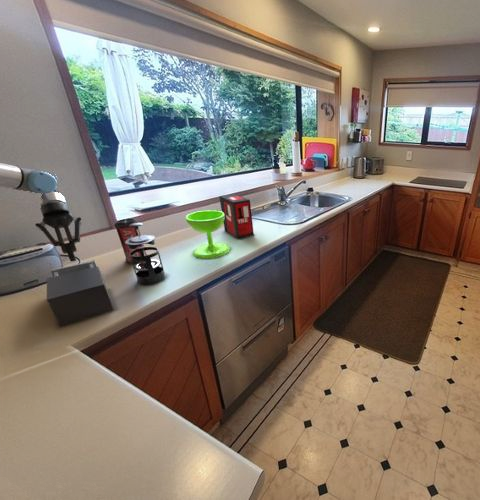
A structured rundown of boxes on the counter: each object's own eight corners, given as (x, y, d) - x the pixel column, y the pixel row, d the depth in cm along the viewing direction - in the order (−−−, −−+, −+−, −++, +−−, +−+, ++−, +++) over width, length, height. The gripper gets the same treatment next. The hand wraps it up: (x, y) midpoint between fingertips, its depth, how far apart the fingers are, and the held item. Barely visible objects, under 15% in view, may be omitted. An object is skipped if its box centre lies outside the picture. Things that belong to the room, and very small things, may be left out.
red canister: (147, 254, 129) (136, 217, 122) (147, 260, 124) (136, 222, 116) (127, 257, 125) (114, 219, 118) (126, 264, 120) (112, 225, 112)
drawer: (59, 287, 101) (50, 268, 98) (100, 277, 108) (93, 258, 105) (60, 307, 91) (50, 286, 88) (106, 294, 98) (98, 274, 95)
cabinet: (58, 303, 94) (46, 278, 90) (107, 289, 103) (98, 266, 98) (60, 326, 84) (46, 299, 80) (113, 309, 92) (104, 284, 88)
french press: (169, 280, 110) (154, 225, 100) (140, 288, 104) (122, 230, 94) (161, 269, 117) (147, 217, 108) (134, 276, 111) (116, 221, 102)
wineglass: (236, 246, 141) (231, 211, 134) (217, 260, 127) (210, 222, 119) (207, 242, 143) (201, 209, 136) (185, 256, 129) (177, 219, 122)
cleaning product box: (224, 230, 160) (219, 196, 151) (239, 227, 166) (235, 193, 157) (238, 239, 150) (233, 202, 141) (253, 235, 156) (249, 199, 147)
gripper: (78, 208, 116) (96, 258, 112) (33, 214, 107) (51, 268, 104) (74, 198, 110) (93, 250, 106) (26, 204, 102) (45, 260, 98)
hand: (72, 259), depth 105 cm, fingers closed
